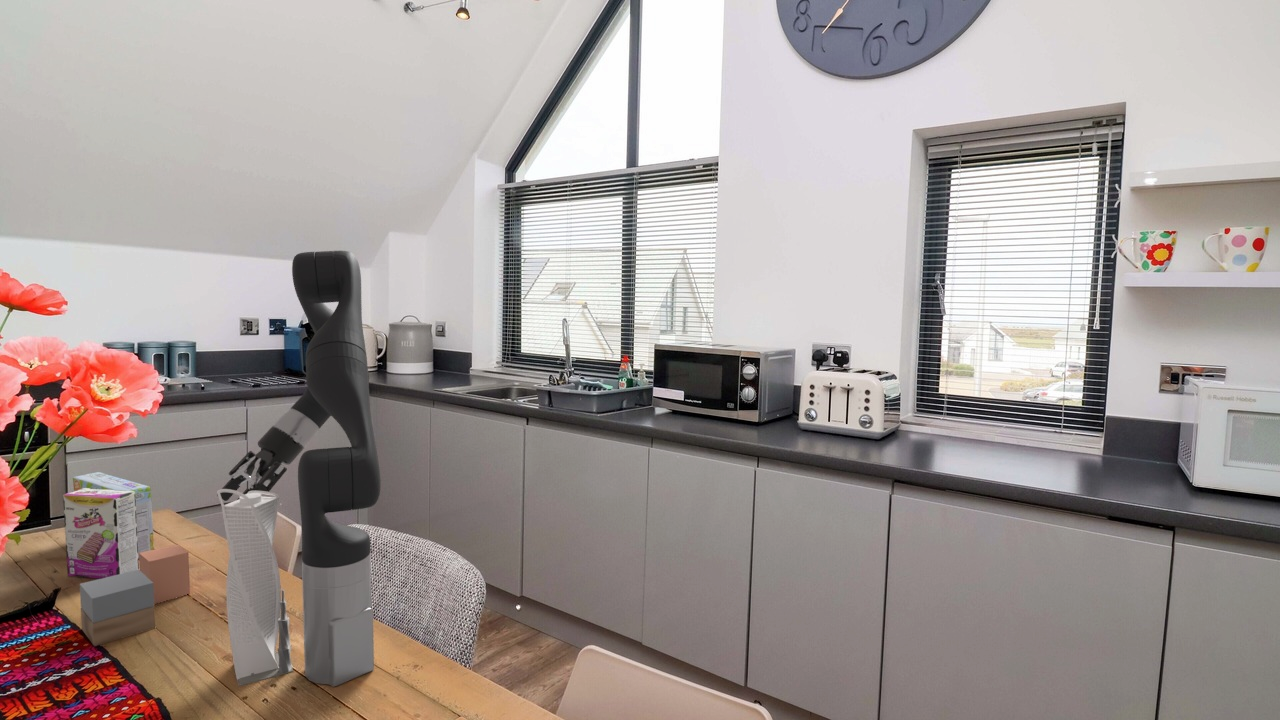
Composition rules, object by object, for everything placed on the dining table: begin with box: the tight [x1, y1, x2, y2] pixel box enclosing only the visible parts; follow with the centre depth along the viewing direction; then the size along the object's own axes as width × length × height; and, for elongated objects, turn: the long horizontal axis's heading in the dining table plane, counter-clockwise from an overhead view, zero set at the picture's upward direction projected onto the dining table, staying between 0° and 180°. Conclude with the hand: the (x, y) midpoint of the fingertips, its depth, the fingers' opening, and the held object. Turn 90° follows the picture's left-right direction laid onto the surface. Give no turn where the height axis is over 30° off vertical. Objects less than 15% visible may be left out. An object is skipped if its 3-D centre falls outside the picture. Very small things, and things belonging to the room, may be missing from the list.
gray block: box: [79, 569, 155, 623], centre depth 112 cm, size 8×8×4 cm
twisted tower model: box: [216, 488, 294, 687], centre depth 100 cm, size 8×8×28 cm
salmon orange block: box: [138, 543, 191, 605], centre depth 124 cm, size 6×6×8 cm
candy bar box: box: [62, 488, 140, 579], centre depth 132 cm, size 11×5×16 cm, turn 84°
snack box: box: [72, 471, 155, 561], centre depth 145 cm, size 21×6×15 cm, turn 62°
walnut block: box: [80, 605, 156, 647], centre depth 112 cm, size 8×8×4 cm
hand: (229, 503), depth 132 cm, fingers open, 8 cm apart
